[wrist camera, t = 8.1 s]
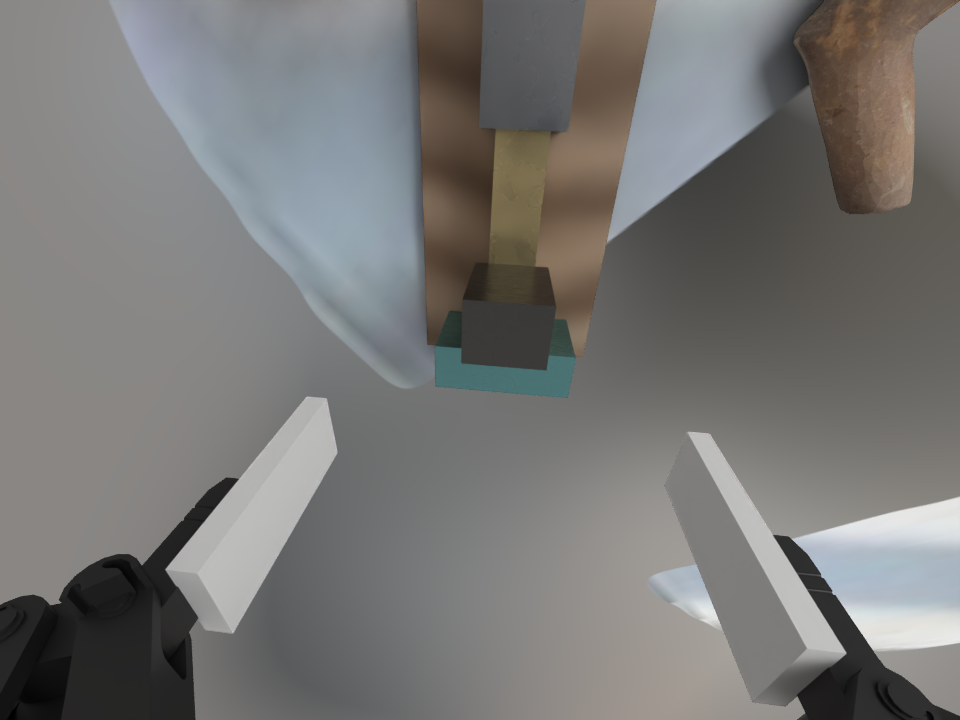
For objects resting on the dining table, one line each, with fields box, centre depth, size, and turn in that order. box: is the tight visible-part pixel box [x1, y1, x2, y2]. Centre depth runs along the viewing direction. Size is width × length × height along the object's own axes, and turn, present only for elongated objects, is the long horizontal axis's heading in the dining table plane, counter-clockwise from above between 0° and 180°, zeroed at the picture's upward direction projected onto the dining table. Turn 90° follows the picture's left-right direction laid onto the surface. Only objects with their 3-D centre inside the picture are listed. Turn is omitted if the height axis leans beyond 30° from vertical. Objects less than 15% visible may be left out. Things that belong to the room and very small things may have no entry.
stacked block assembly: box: [435, 0, 586, 398], centre depth 25 cm, size 26×10×6 cm, turn 178°
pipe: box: [793, 0, 960, 214], centre depth 21 cm, size 6×17×10 cm
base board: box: [417, 0, 656, 357], centre depth 28 cm, size 27×14×1 cm, turn 178°
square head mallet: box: [461, 129, 556, 371], centre depth 24 cm, size 18×5×10 cm, turn 178°
